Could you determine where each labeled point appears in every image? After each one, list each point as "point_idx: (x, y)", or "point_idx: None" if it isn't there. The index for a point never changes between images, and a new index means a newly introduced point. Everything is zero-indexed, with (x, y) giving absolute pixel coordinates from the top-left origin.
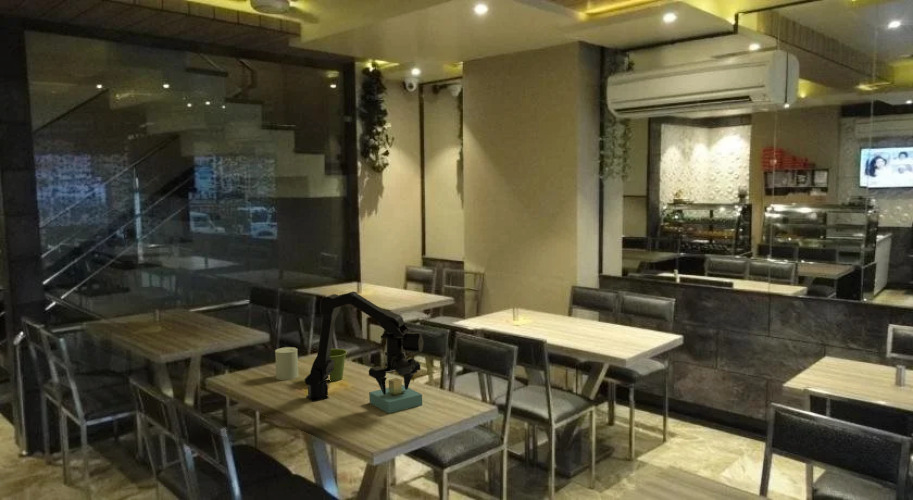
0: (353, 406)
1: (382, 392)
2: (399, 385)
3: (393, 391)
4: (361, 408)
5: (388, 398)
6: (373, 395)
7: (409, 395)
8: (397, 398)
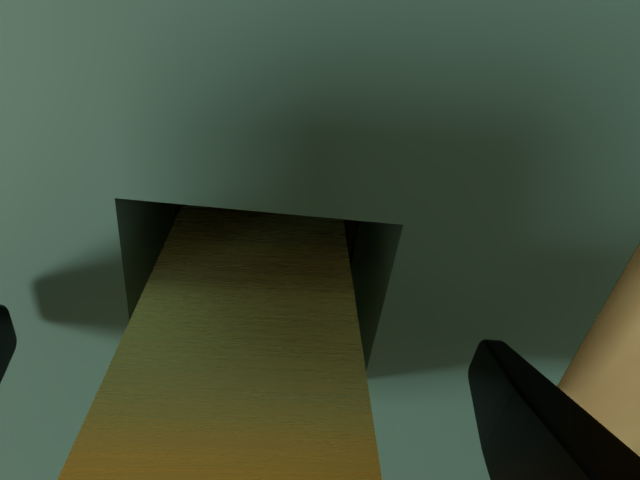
0: (610, 413)
1: (381, 440)
2: (176, 390)
3: (353, 318)
4: (622, 341)
5: (551, 190)
6: None
7: (77, 15)
8: (437, 53)
